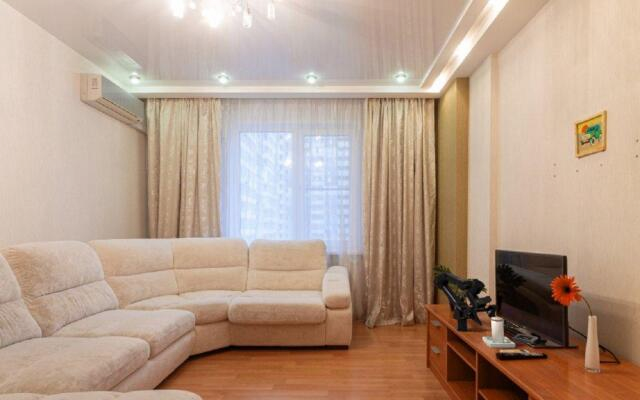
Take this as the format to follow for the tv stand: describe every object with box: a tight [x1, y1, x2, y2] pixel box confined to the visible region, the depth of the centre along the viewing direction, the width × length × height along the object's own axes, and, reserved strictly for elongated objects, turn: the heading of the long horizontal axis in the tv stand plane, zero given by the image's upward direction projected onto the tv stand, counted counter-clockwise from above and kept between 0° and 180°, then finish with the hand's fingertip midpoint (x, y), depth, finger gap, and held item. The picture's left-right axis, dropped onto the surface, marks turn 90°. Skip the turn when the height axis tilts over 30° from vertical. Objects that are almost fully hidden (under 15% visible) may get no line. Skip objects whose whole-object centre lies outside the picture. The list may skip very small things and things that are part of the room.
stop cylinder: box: [490, 316, 505, 343], centre depth 197 cm, size 6×6×12 cm
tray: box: [482, 336, 516, 349], centre depth 197 cm, size 12×12×2 cm
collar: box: [511, 333, 539, 345], centre depth 200 cm, size 9×9×2 cm
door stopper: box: [503, 319, 520, 329], centre depth 230 cm, size 9×6×12 cm, turn 169°
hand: (489, 324), depth 203 cm, fingers open, 9 cm apart
